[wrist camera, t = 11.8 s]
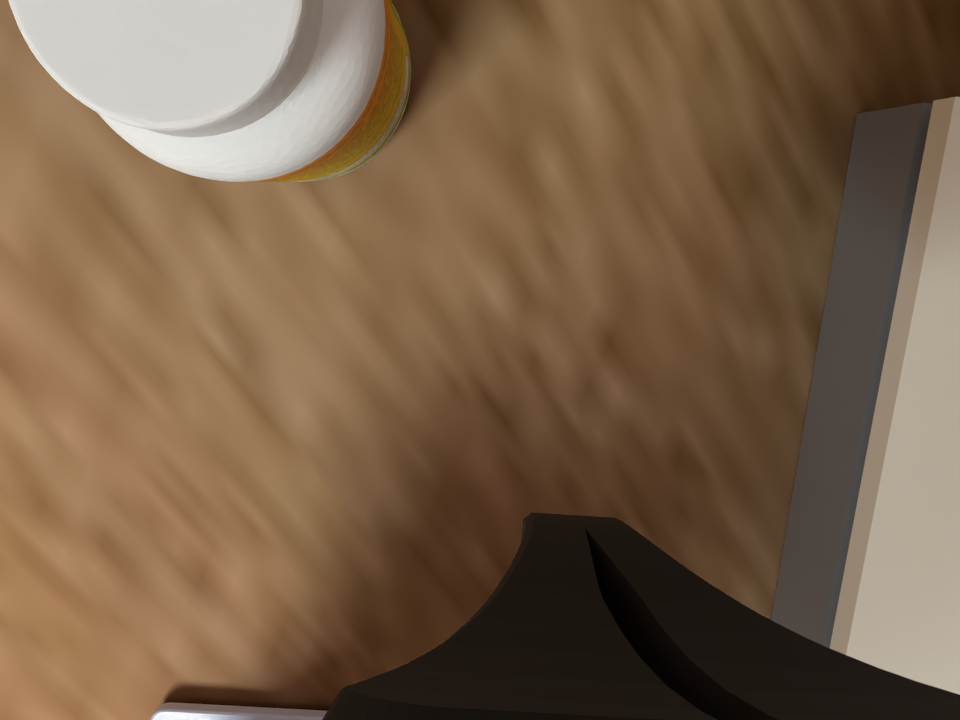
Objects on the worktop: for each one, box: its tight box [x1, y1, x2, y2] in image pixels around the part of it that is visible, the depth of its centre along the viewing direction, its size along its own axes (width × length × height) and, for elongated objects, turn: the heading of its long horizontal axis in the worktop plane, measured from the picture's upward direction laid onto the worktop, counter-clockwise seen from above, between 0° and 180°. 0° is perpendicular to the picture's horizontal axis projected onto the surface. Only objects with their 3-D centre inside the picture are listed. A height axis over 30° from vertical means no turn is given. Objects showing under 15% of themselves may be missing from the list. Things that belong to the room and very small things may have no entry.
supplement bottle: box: [9, 0, 411, 182], centre depth 15 cm, size 5×5×10 cm
